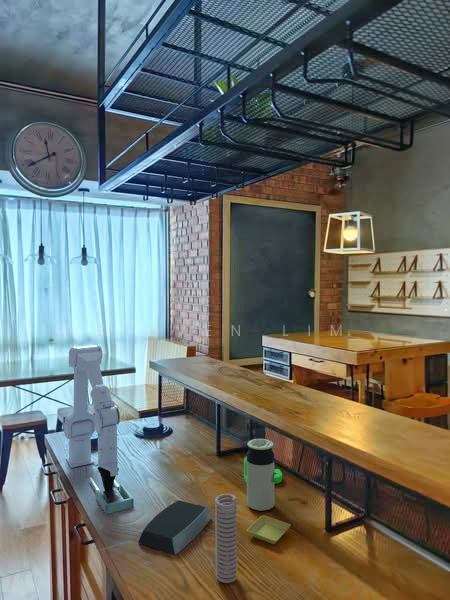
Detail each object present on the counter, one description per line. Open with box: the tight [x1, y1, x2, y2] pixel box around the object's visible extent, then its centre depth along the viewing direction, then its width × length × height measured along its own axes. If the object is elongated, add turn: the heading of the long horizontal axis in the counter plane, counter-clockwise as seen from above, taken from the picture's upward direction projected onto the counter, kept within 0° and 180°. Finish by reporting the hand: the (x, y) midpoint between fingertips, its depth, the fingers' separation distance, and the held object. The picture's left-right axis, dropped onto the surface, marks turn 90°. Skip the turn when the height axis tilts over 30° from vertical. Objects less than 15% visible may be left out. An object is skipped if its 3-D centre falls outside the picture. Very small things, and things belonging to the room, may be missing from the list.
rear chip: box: [102, 487, 121, 501], centre depth 130 cm, size 4×4×2 cm
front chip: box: [105, 493, 125, 504], centre depth 126 cm, size 4×4×2 cm
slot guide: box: [88, 477, 120, 493], centre depth 137 cm, size 11×7×2 cm, turn 30°
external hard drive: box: [137, 499, 212, 555], centre depth 113 cm, size 12×18×4 cm
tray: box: [95, 483, 135, 515], centre depth 127 cm, size 11×8×2 cm
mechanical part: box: [243, 455, 283, 485], centre depth 141 cm, size 12×6×8 cm, turn 100°
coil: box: [214, 493, 238, 584], centre depth 94 cm, size 5×5×18 cm
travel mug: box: [246, 438, 275, 512], centre depth 125 cm, size 8×8×18 cm
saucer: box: [246, 514, 292, 545], centre depth 111 cm, size 9×9×2 cm
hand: (108, 490), depth 133 cm, fingers closed
